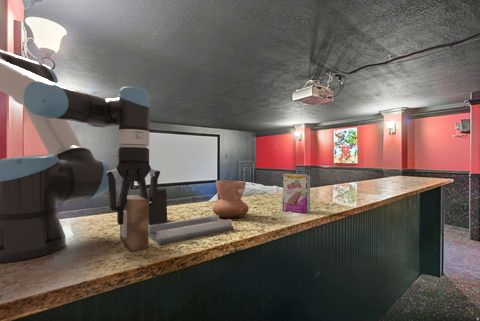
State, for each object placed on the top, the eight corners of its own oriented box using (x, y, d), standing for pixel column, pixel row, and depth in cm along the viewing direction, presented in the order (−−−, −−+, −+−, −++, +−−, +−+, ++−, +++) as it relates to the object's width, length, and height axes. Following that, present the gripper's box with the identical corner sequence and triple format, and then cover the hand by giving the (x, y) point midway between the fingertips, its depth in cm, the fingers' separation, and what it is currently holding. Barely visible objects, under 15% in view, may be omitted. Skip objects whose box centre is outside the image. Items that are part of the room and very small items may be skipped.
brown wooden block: (131, 251, 60) (132, 201, 60) (120, 238, 69) (120, 195, 69) (148, 247, 62) (148, 200, 62) (135, 235, 72) (135, 194, 72)
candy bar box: (282, 211, 109) (282, 174, 109) (286, 209, 113) (286, 173, 113) (307, 214, 103) (307, 175, 103) (310, 212, 107) (310, 174, 107)
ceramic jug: (257, 218, 96) (257, 181, 96) (224, 222, 88) (224, 182, 88) (234, 211, 111) (234, 179, 111) (204, 214, 103) (204, 180, 104)
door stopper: (167, 224, 85) (167, 189, 86) (148, 226, 83) (149, 190, 83) (164, 218, 94) (165, 187, 94) (148, 220, 92) (148, 187, 92)
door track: (159, 245, 64) (159, 233, 64) (146, 235, 73) (146, 224, 73) (233, 229, 79) (233, 220, 79) (215, 222, 88) (215, 214, 88)
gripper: (100, 144, 57) (99, 245, 57) (170, 147, 68) (169, 232, 68) (95, 146, 63) (94, 237, 63) (160, 148, 74) (160, 226, 74)
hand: (133, 234), depth 66 cm, fingers closed on brown wooden block, 4 cm apart
